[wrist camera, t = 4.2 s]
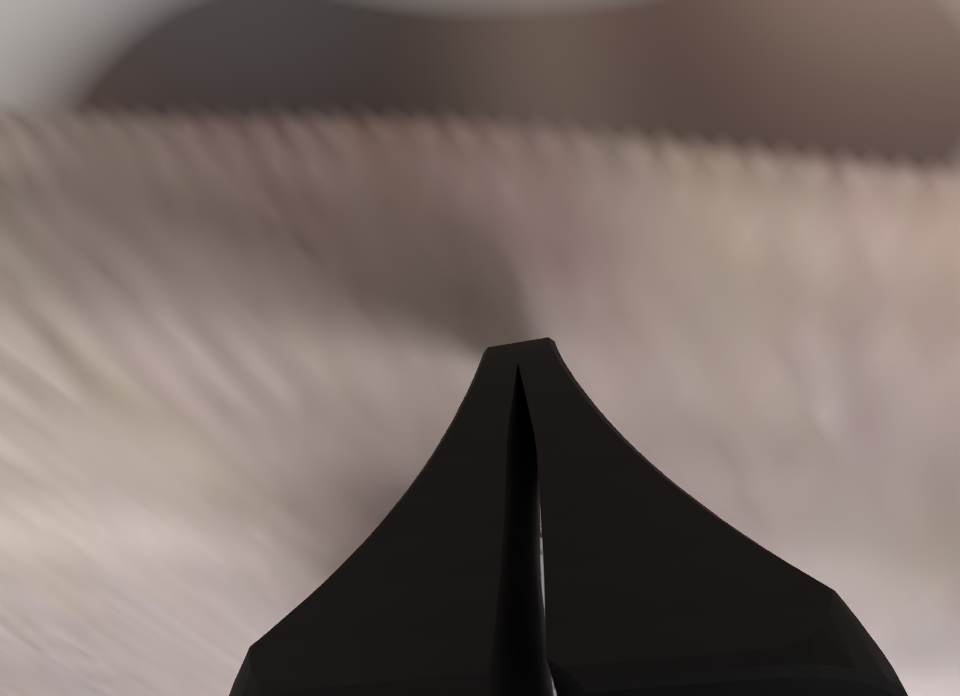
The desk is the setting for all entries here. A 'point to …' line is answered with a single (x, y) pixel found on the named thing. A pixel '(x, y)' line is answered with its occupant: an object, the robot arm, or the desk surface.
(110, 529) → the desk surface
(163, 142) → the desk surface
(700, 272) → the desk surface
